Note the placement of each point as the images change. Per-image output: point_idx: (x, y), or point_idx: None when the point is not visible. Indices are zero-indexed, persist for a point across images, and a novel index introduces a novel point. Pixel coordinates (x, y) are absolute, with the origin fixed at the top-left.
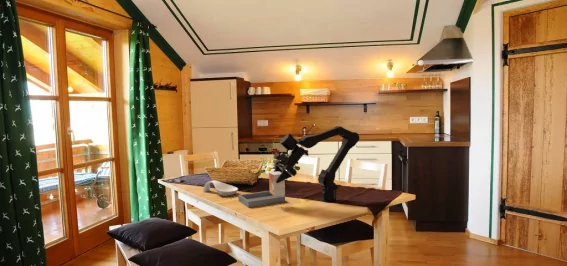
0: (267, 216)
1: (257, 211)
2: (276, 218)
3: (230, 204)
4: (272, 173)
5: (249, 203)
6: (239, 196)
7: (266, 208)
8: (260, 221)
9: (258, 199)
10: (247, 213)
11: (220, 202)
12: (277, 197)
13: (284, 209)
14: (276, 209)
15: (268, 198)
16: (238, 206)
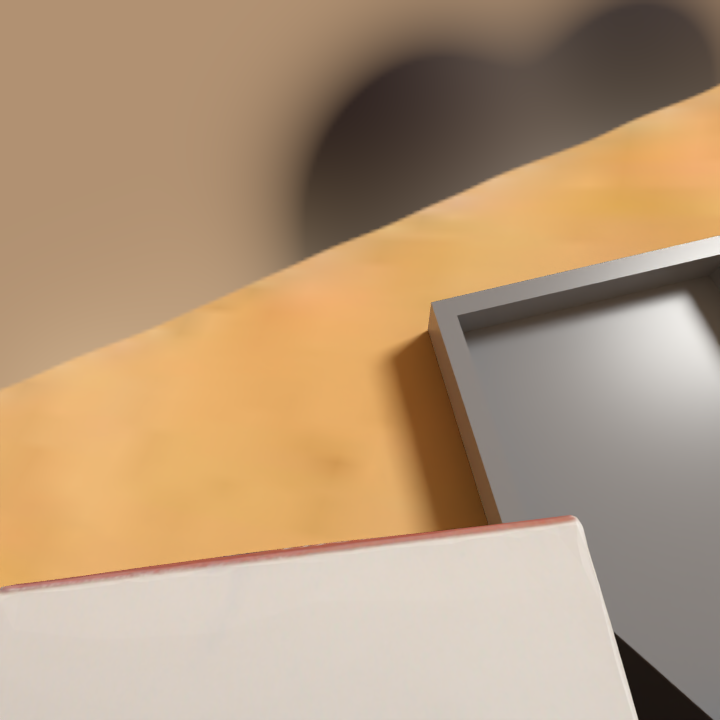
0: (108, 453)
1: (287, 391)
2: (15, 520)
3: (574, 203)
4: (265, 605)
5: (433, 322)
6: (700, 243)
7: (354, 485)
8: (20, 382)
9: (680, 443)
10: (263, 310)
11: (654, 139)
12: None
13: None
14: None
15: None
16: (494, 257)
